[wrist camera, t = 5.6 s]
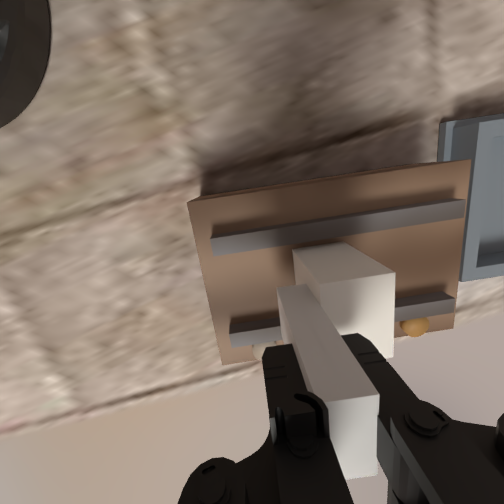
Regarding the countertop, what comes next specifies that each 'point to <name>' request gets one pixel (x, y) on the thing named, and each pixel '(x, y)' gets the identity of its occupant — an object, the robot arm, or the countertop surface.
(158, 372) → the countertop surface
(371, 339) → the toggle
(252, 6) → the countertop surface
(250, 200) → the switch box
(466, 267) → the tray
